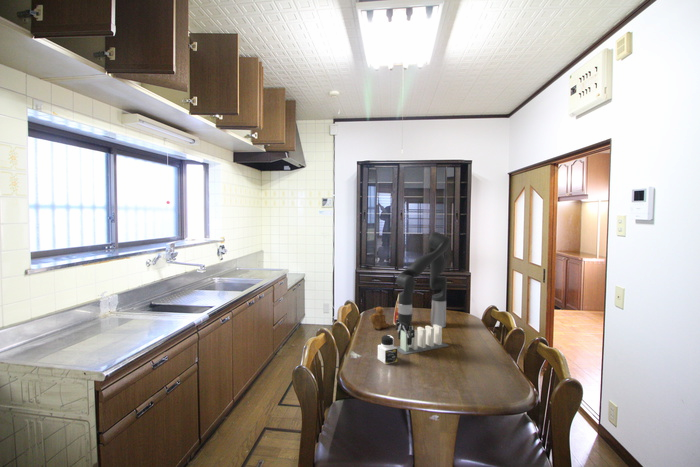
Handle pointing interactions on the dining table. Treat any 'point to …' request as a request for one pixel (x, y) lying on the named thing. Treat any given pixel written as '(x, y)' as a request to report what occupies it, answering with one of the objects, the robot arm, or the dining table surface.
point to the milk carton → (396, 311)
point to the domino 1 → (404, 341)
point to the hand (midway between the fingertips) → (404, 341)
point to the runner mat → (420, 348)
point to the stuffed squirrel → (379, 319)
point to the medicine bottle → (387, 350)
